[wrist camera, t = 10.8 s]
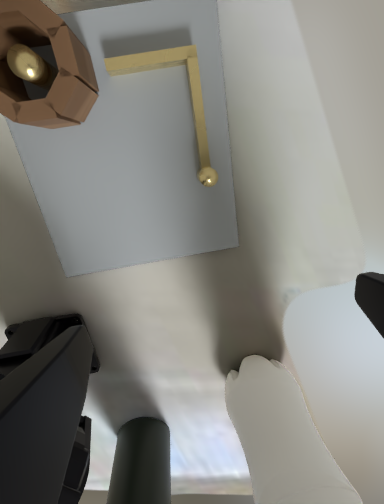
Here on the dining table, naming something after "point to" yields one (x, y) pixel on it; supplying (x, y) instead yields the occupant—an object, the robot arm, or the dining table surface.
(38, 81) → the end peg
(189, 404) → the dining table surface
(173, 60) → the bent rail
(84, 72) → the walnut ring
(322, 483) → the water bottle
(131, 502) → the wine bottle
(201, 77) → the slate board
